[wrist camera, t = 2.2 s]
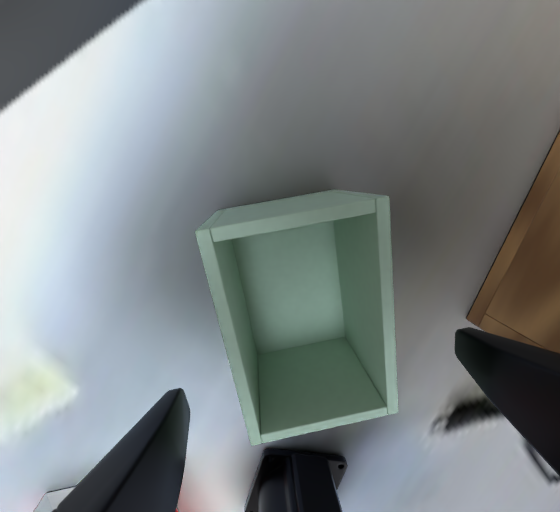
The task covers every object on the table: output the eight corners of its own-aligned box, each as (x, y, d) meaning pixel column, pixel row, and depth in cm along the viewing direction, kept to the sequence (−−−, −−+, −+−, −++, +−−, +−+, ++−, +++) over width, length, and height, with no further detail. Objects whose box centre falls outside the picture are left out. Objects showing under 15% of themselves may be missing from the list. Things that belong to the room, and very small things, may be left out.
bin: (350, 336, 17) (399, 413, 12) (251, 356, 17) (250, 446, 11) (335, 189, 15) (390, 195, 9) (216, 210, 14) (193, 230, 9)
